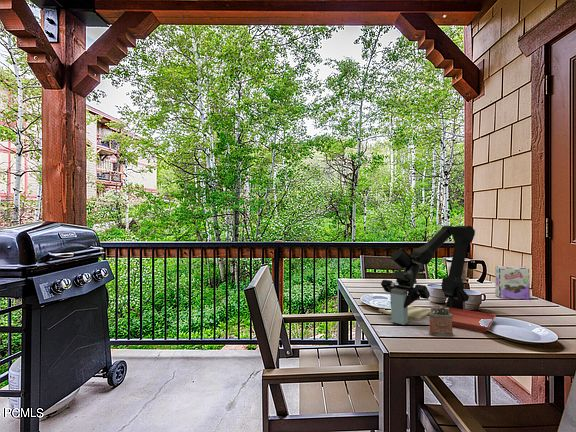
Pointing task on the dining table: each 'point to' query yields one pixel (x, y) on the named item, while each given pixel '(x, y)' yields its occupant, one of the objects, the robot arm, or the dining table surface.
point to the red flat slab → (469, 319)
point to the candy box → (512, 282)
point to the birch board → (413, 312)
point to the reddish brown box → (440, 322)
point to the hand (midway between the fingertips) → (397, 306)
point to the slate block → (399, 306)
